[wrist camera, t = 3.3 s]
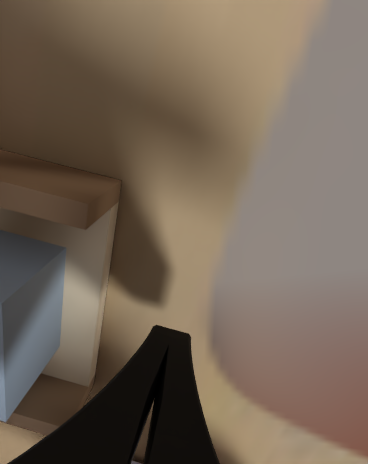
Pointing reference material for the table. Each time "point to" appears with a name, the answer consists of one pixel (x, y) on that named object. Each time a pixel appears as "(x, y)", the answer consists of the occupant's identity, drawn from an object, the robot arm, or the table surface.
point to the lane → (76, 273)
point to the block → (27, 313)
